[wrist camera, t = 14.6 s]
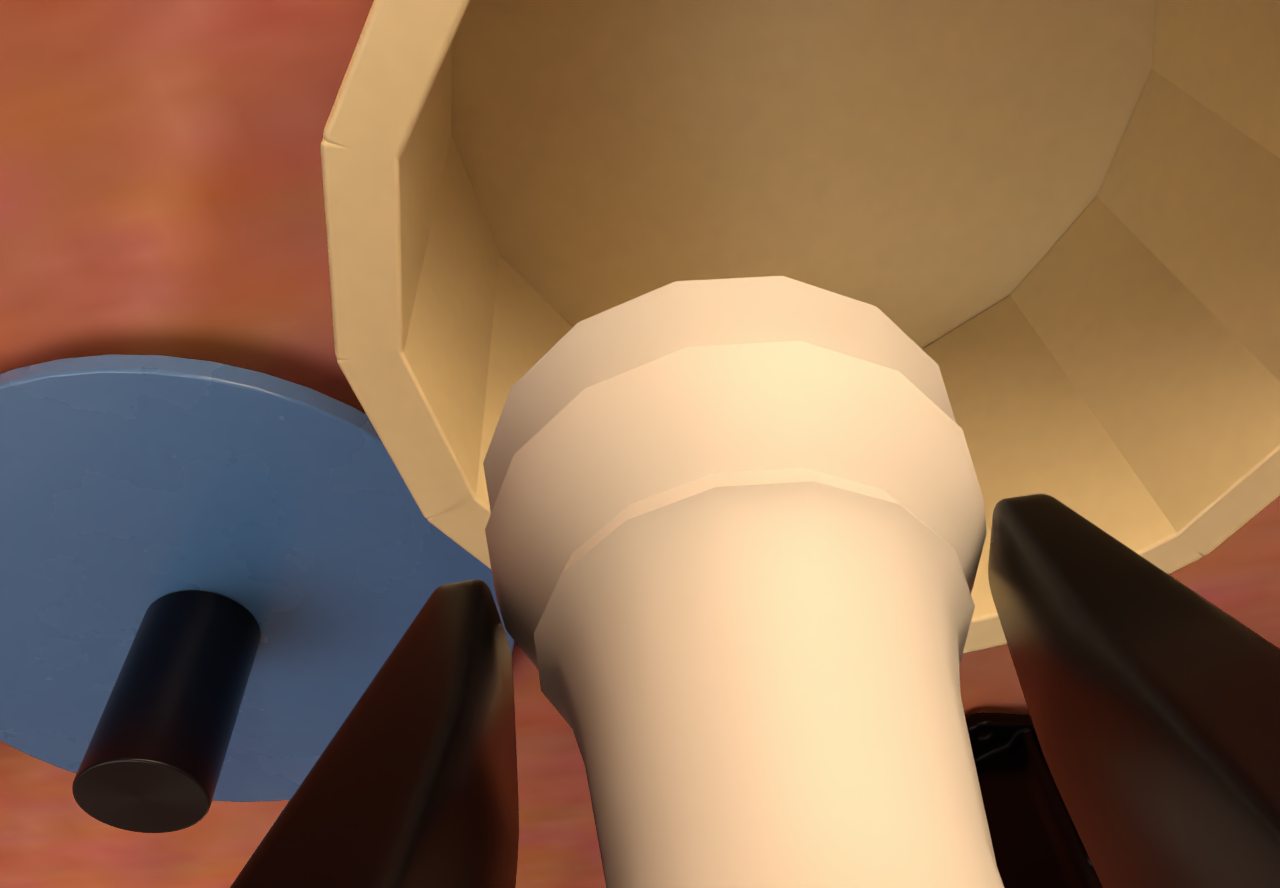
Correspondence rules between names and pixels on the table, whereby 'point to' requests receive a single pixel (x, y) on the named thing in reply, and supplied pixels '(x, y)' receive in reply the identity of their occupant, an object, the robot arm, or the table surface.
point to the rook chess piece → (749, 587)
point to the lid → (196, 578)
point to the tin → (837, 223)
